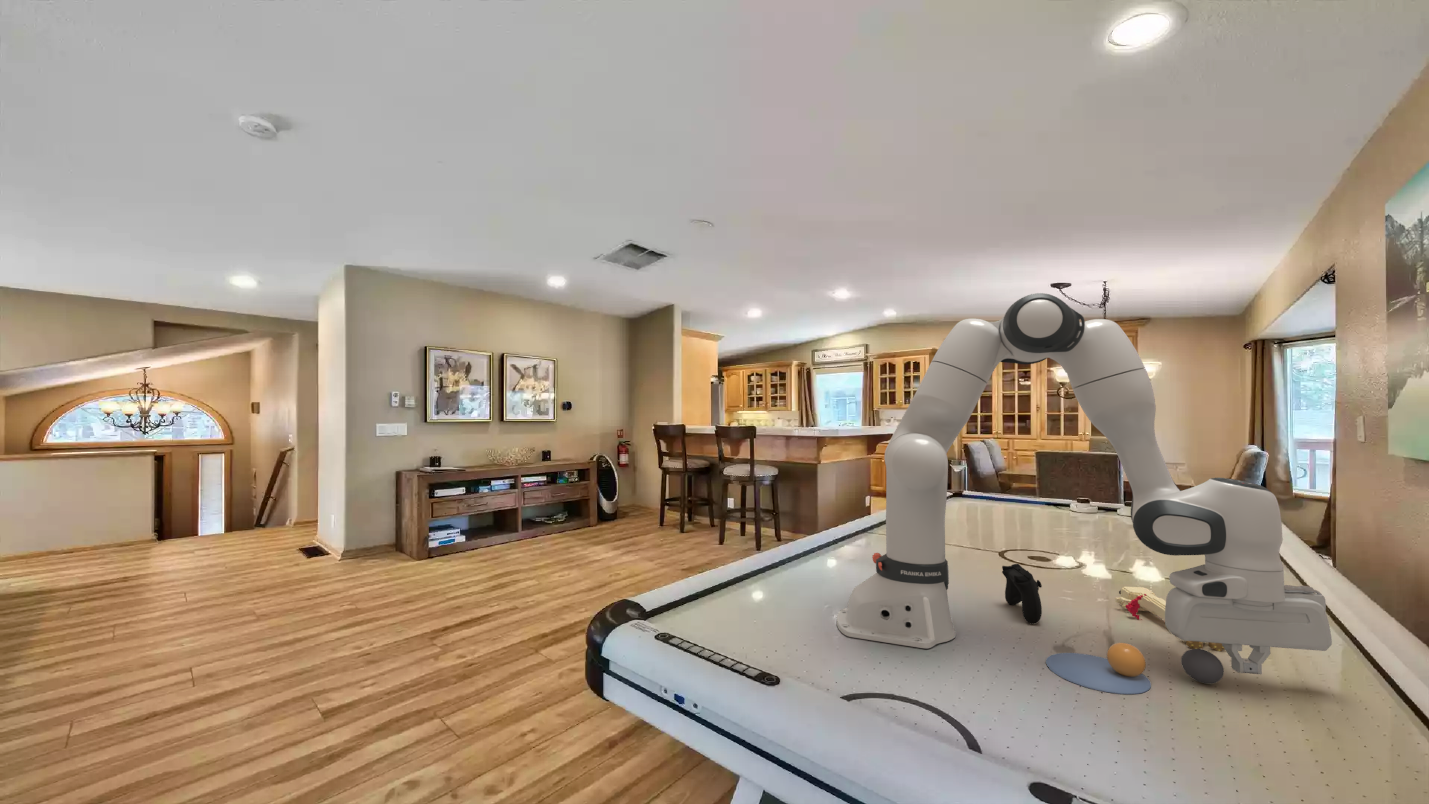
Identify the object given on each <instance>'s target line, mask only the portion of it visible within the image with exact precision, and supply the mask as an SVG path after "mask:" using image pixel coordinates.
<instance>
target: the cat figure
mask: <svg viewBox="0 0 1429 804" xmlns="http://www.w3.org/2000/svg"><path fill="white" fill-rule="evenodd" d="M1118 594H1119V595H1120V596H1118V597H1115V598H1114V599H1115V600H1114V602H1115V603H1116V604H1119V605H1121V607H1122V608H1124V609H1125V610H1127V611H1128V612H1129V613H1130V614H1131V616H1132V617H1133V618H1135V619H1137V620H1138V621H1139V620H1140V621H1143V619H1142V618H1140V614H1138V613H1139V611H1142V612H1150V613H1151V614H1152V615H1154V616H1158V617H1160V618H1161V619H1162V620H1163V621H1165V606H1166V599H1163V597H1158V596H1157V595H1156V594H1155V592H1153V591H1152V590H1150V589H1148V588H1147V587H1143V586H1140V587H1139V586H1122V587H1121V588H1120V590H1119V591H1118ZM1182 641H1183V642H1185V646H1187V647H1188V648H1190V649H1203V648H1204V644H1207V643H1208V647H1209V648H1210V649H1211V650H1214V651H1216V652H1222V651H1226V650H1225V649H1224V647H1223V646H1222V643H1211V642H1197V641H1185V640H1182Z"/></svg>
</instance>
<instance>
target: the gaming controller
mask: <svg viewBox="0 0 1429 804" xmlns="http://www.w3.org/2000/svg"><path fill="white" fill-rule="evenodd" d="M1001 569H1002V571H1001V573H1002V574H1003V576H1004V577H1005V580H1006V581H1005V582H1006V583H1005V590H1004V599H1005V601H1006V603H1007V604H1008V605H1010V606H1016V605H1018V604H1020V603H1021V611H1022V616H1023V619H1024V620H1025V622H1026V623H1028V624H1030V623H1031V625H1035V624H1037V623H1039V622H1040V620H1041V618H1042V613H1043V609H1042V608H1043V607H1042V601H1041V597H1040V593H1039V589H1041V588H1042V587H1043V586H1042V583H1041V581H1040V579H1037V580H1036V579H1034V576H1033V574H1032V573H1031V572H1030V571H1029V570H1026V569H1025V568H1024V567H1022V565H1020V563H1013V564H1011V565H1002V567H1001Z"/></svg>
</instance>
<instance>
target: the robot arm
mask: <svg viewBox="0 0 1429 804" xmlns="http://www.w3.org/2000/svg"><path fill="white" fill-rule="evenodd" d="M1085 320H1086V319H1085V318H1084V316H1083V315H1082V314H1080V313H1079V312H1078V311H1076V310H1075V309H1073V308H1072V307H1071V306H1069V305H1068V304H1067V303H1066V302H1064V300H1062V299H1060V298H1059V297H1057V296H1054V295H1052V294H1049V293H1043V292H1042V293H1041V292H1040V293H1039V292H1037V293H1031V294H1028V295H1024V296H1023V297H1021V298H1019V299H1017V300H1016V301H1015V302H1013V303H1012V304H1011V305H1010V306H1009V307H1008V309H1007V310H1006V312H1005V314H1004V316H1003V317H1002V318H1001V319H1000V320H997V321H987V320H984V319H980V318H966V319H962V320H960V321H958V322H957V323H956V324H954V326H953V327H952V328H951V330H950V331H949V333H948V334H947V335H946V337H945V338H944V339H943V341H942V342H941V344H940V346H939V347H938V349H937V351H936V352H935V354H934V356H933V358H932V360H931V362H930V364H929V366H928V367H927V370H926V372H925V374H924V376H923V377H922V380H921V381H920V384H919V386H918V387H917V388H916V389H917V390H916V392H915V393H914V395H913V397H912V399H911V401H910V403H909V404H908V407H907V408H906V410H905V412H904V414H903V416H902V417H901V419H900V421H899V423H898V425H897V427H896V429H895V431H894V432H893V434H892V436H891V437H890V440H889V442H888V444H887V446H886V448H885V450H884V464H885V471H886V474H885V475H886V484H885V485H886V492H885V494H886V496H885V498H886V503H885V506H886V507H885V536H886V537H885V544H886V545H885V546H886V549H885V550H886V551H885V552H886V553H885V554H883V555H881V553H879V552H874V553H873V555H872V557H871V558H872V561H873V563H874V564H875V571H876V573H874V574H873V575H872V576H870V577H868V578H867V579H865V580H864V581H862V582H860V583H859V584H857V585H856V586H854V588H853V589H852V590H851V593H850V594H849V598H848V603H847V607H845V608H842V609H841V610H840V611H839V612H838V613H837V615H836V616H837V617H836V626H837V628H838V629H839V630H838V631H840V633H842V634H843V635H845V636H846V637H850V638H855V639H862V640H869V641H872V642H873V641H874V642H881V643H887V644H893V645H900V646H906V647H912V648H913V647H914V648H918V649H919V648H920V649H930V648H933V647H935V646H936V645H938V644H942V643H946V642H949V641H952V640H953V639H954V638H955V637H956V634H957V633H956V629H955V626H954V623H953V619H952V615H951V610H950V605H949V597H948V589H949V583H950V577H949V576H950V569H949V563H948V560H947V559H946V523H945V522H946V510H947V500H948V499H947V496H948V478H949V475H948V474H949V473H948V472H949V470H948V469H949V461H948V455H947V453H948V452H949V450H950V448H951V446H952V445H953V444H954V442H955V440H956V439H957V437H958V436H959V434H960V433H961V431H962V429H963V428H964V426H965V425H966V424H967V423H968V421H969V419H970V417H971V416H972V414H973V412H974V410H975V408H976V406H977V404H978V402H979V400H980V398H981V396H982V394H983V392H984V391H985V389H986V387H987V385H988V383H989V381H990V379H991V376H992V375H993V374H994V371H995V370H996V368H997V366H999V364H1000V363H1008V364H1017V365H1033V364H1037V363H1041V362H1043V361H1046V360H1047V359H1048V358H1049V359H1050V360H1053V361H1054V362H1056V363H1057V364H1058V365H1060V366H1061V368H1062V369H1063V370H1064V372H1065V373H1066V375H1067V378H1068V381H1069V383H1070V386H1071V389H1072V391H1073V393H1074V396H1075V398H1076V400H1077V402H1078V405H1079V406H1080V408H1081V409H1082V411H1083V412H1084V414H1085V416H1086V417H1087V419H1088V420H1089V422H1090V423H1091V424H1092V426H1094V427H1095V429H1097V430H1098V431H1099V432H1100V433H1101V434H1102V435H1103V436H1104V437H1105V438H1106V439H1107V440H1108V442H1109V443H1110V444H1111V446H1112V447H1113V449H1114V451H1115V452H1116V456H1117V457H1118V459H1119V461H1120V464H1121V466H1122V469H1123V472H1124V474H1125V476H1126V478H1127V481H1128V483H1129V487H1130V489H1131V493H1132V494H1131V495H1132V499H1131V505H1130V520H1131V522H1132V527H1133V530H1134V531H1133V532H1134V533H1135V536H1136V537H1137V539H1138V540H1139V541H1140V542H1141V543H1142V544H1143V545H1144V546H1146V548H1149V549H1150V550H1152V551H1153V552H1156V553H1158V554H1163V555H1167V556H1203V555H1204V564H1200V565H1197V566H1193V567H1191V568H1186V569H1181V570H1176V571H1173V572H1170V574H1169V576H1168V578H1169V583H1170V584H1171V585H1173V586H1174V587H1173V588H1171V589H1170V590H1169V591H1168V593H1167V594H1166V599H1165V601H1166V606H1165V620H1164V624H1165V627H1166V629H1167V631H1168V632H1169V633H1170V634H1172V635H1173V636H1175V637H1177V638H1178V639H1180V640H1182V641H1183V640H1185V641H1184V642H1186V641H1197V642H1205V643H1206V642H1211V643H1222V646H1223V647H1224V649H1225V650H1224V651H1225V652H1226V653H1227V655H1228V656H1229V657H1230V661H1231V669H1232V670H1233V671H1235V672H1237V673H1239V674H1253V675H1262V673H1263V670H1262V669H1263V665H1262V664H1264V663H1265V662H1266V660H1267V659H1268V658H1269V657H1270V655H1271V648H1281V649H1292V650H1293V649H1294V650H1307V651H1319V652H1322V651H1323V652H1325V651H1327V650H1329V648H1330V647H1331V646H1332V645H1333V639H1332V633H1331V631H1332V630H1331V626H1330V621H1329V619H1328V618H1329V617H1328V615H1327V613H1326V610H1327V607H1326V603H1327V602H1326V598H1325V596H1324V594H1322V593H1321V592H1320V591H1319V590H1316V589H1315V588H1314V587H1312V586H1308V585H1299V586H1298V585H1291V584H1285V574H1284V573H1285V572H1284V571H1285V569H1284V564H1283V562H1282V561H1281V556H1280V550H1281V549H1280V548H1281V546H1282V544H1283V540H1284V539H1283V525H1282V516H1281V515H1282V514H1281V510H1280V505H1279V502H1278V499H1277V497H1276V495H1275V494H1274V493H1273V492H1271V490H1269V489H1268V488H1267V487H1264V486H1263V485H1260V484H1256V483H1253V482H1249V481H1245V480H1239V479H1233V478H1226V477H1211V478H1209V479H1208V480H1206V481H1205V482H1202V483H1200V484H1198V485H1196V486H1192V487H1189V488H1186V489H1184V490H1181V489H1180V488H1179V487H1178V485H1177V484H1176V483H1175V480H1174V479H1173V478H1172V476H1171V472H1170V471H1169V468H1168V466H1167V463H1166V461H1165V459H1164V457H1163V454H1162V451H1161V450H1160V447H1159V444H1158V441H1157V437H1156V433H1155V419H1156V418H1155V417H1156V413H1157V411H1156V410H1157V405H1156V399H1155V394H1154V388H1153V386H1152V382H1151V379H1150V375H1149V374H1148V371H1147V370H1146V367H1145V365H1144V363H1143V360H1142V359H1141V357H1140V355H1139V352H1138V351H1137V349H1136V347H1135V345H1134V344H1133V343H1132V341H1131V339H1130V338H1129V337H1128V335H1127V334H1126V333H1125V332H1124V329H1122V327H1121V326H1120V325H1119V324H1118V323H1117V322H1115V321H1114V320H1111V319H1105V318H1094V319H1090V320H1086V321H1085ZM1243 646H1249V647H1250V648H1251V649H1252V651H1251V652H1250V654H1249V656H1248V657H1247V658H1245V657H1242V656H1241V654H1240V652H1242V651H1243Z"/></svg>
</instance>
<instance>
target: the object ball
mask: <svg viewBox="0 0 1429 804" xmlns="http://www.w3.org/2000/svg"><path fill="white" fill-rule="evenodd" d="M1106 657H1107V658H1106V659H1108V662H1109V664H1110V665H1111V667H1112V668H1113V669H1114V670H1115V671H1116V672H1118V673H1119V674H1121V675H1124V676H1128V677H1135V676H1138V675H1140V674H1143V672H1145V669H1146V667H1147V663H1146V659H1145V656H1144V654H1143V653H1142V652H1141V651H1140V650H1139V648H1137V647H1136V646H1134V645H1132V644H1129V643H1125V642H1116V643H1113V644H1112V645H1111V646H1110V647H1109V648H1108V650H1107V653H1106Z"/></svg>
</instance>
